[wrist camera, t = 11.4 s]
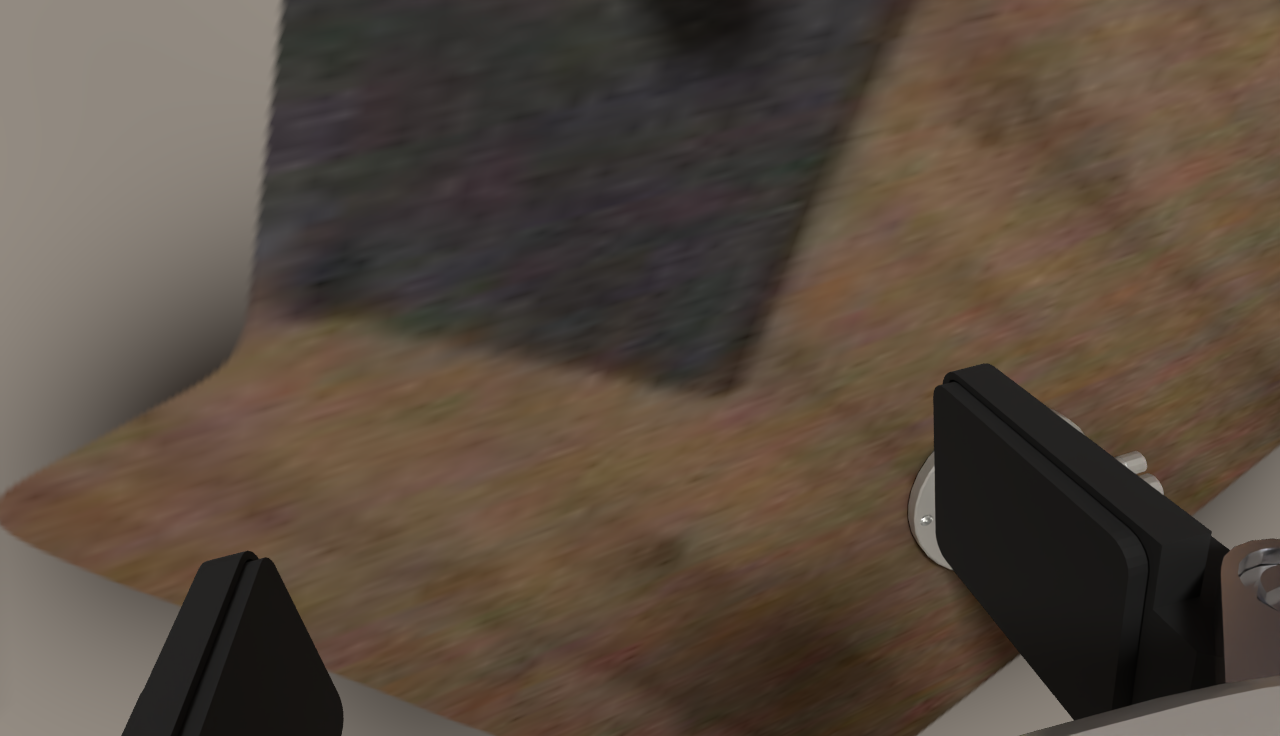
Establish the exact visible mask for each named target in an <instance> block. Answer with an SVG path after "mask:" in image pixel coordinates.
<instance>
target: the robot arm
mask: <svg viewBox="0 0 1280 736" xmlns="http://www.w3.org/2000/svg"><path fill="white" fill-rule="evenodd" d="M933 404H934V452H933V453H932V454H931V455H930V456H929V457H928V459H927V460H926V462H925V464H924V465H923V467H922V468H921V470H920V472H919V473H918V475H917V478H916V480H915V483H914V485H913V487H912V490H911V495H910V499H909V504H908V520H909V524H910V528H911V532H912V534H913V536H914V538H915V539H916V541H917V543H918V545H919V546H920V547H921V548H922V549H923V551H924V552H925V553H926V554H927V556H928V557H930V558H931V559H932V560H933V561H935V562H936V563H937V564H939V565H941V566H943V567H945V568H948V569H950V570H954V572H955V573H956V574H957V575H958V576H959V578H960V579H961V580H962V581H963V583H964V584H965V585H966V586H967V588H968V589H969V590H970V591H971V593H972V594H973V595H974V596H975V598H976V599H977V600H978V601H979V603H980V604H981V605H982V606H983V608H984V609H985V610H986V611H987V613H988V614H989V615H990V616H991V618H992V619H993V620H994V621H995V623H996V624H997V625H998V626H999V628H1000V629H1001V630H1002V631H1003V632H1004V634H1005V635H1006V636H1007V637H1008V639H1009V640H1010V641H1011V642H1012V644H1013V645H1014V646H1015V647H1016V649H1017V650H1018V651H1019V652H1020V654H1021V655H1022V656H1023V657H1024V659H1025V660H1026V661H1027V662H1028V664H1029V665H1030V666H1031V667H1032V669H1033V670H1034V671H1035V672H1036V674H1037V675H1038V676H1039V677H1040V679H1041V680H1042V681H1043V682H1044V683H1045V685H1046V686H1047V687H1048V688H1049V690H1050V691H1051V692H1052V693H1053V695H1055V697H1056V698H1057V700H1058V701H1059V702H1060V703H1061V705H1062V706H1063V707H1064V708H1065V710H1066V711H1067V712H1068V713H1069V714H1070V716H1071V717H1072V718H1073V719H1074V721H1071V722H1067V723H1064V724H1060V725H1056V726H1052V727H1049V728H1045V729H1041V730H1038V731H1034V732H1031V733H1027V734H1024V735H1020V736H1280V539H1274V538H1272V539H1261V540H1252V541H1248V542H1246V543H1243V544H1240V545H1238V546H1235V547H1234V548H1232V549H1231V550H1229V549H1228V548H1226V547H1225V546H1224V545H1222V544H1221V543H1220V542H1218V541H1217V540H1216V539H1215V538H1213V537H1212V536H1211V533H1212V532H1211V531H1210V530H1209V529H1207V528H1206V527H1205V526H1204V525H1202V524H1201V523H1200V522H1198V521H1197V520H1196V519H1195V518H1193V517H1192V516H1191V515H1189V514H1188V513H1187V512H1185V511H1184V510H1183V509H1181V508H1180V507H1179V506H1177V505H1176V504H1175V503H1173V502H1172V501H1171V500H1169V499H1168V498H1167V497H1165V496H1164V493H1163V488H1162V486H1161V484H1160V482H1159V481H1158V480H1157V479H1156V477H1155V476H1153V475H1151V474H1149V473H1148V474H1144V475H1140V476H1138V475H1136V474H1137V473H1140V472H1143V471H1146V468H1147V463H1146V460H1145V458H1144V456H1143V455H1142V454H1141V453H1140V452H1137V451H1134V452H1131V453H1127V454H1124V455H1121V456H1117V457H1115V458H1114V457H1113V456H1111V455H1110V454H1109V453H1107V452H1106V451H1105V450H1103V449H1102V448H1101V447H1099V446H1098V445H1097V444H1096V443H1094V442H1093V441H1092V440H1090V439H1089V438H1088V437H1086V436H1085V435H1084V433H1083V432H1082V430H1081V429H1080V428H1079V427H1078V426H1077V425H1075V424H1074V423H1073V422H1072V421H1071V420H1069V419H1068V418H1067V417H1065V416H1064V415H1062V414H1060V413H1059V412H1057V411H1055V410H1052V409H1049V408H1048V407H1047V406H1045V405H1044V404H1043V403H1041V402H1040V401H1039V400H1037V399H1036V398H1035V397H1034V396H1032V395H1031V394H1030V393H1028V392H1027V391H1026V390H1024V389H1023V388H1022V387H1020V386H1019V385H1018V384H1016V383H1015V382H1014V381H1012V380H1011V379H1010V378H1008V377H1007V376H1006V375H1004V374H1003V373H1002V372H1001V371H999V370H998V369H997V368H995V367H994V366H992V365H990V364H980V365H976V366H973V367H969V368H965V369H961V370H957V371H953V372H949V373H948V374H946V375H945V377H944V380H943V385H939V386H937V387H936V388H935V390H934V396H933ZM342 729H343V707H342V703H341V700H340V697H339V694H338V692H337V690H336V688H335V686H334V684H333V682H332V680H331V678H330V676H329V674H328V672H327V670H326V668H325V666H324V664H323V662H322V660H321V658H320V656H319V654H318V652H317V650H316V648H315V645H314V643H313V641H312V639H311V637H310V635H309V633H308V631H307V629H306V627H305V625H304V623H303V621H302V619H301V617H300V615H299V613H298V611H297V609H296V607H295V605H294V603H293V601H292V599H291V597H290V595H289V593H288V591H287V589H286V587H285V585H284V583H283V581H282V579H281V577H280V575H279V573H278V571H277V569H276V567H275V565H274V563H273V562H272V560H270V559H269V558H266V557H265V558H261V559H258V557H257V556H256V555H255V554H254V553H253V552H251V551H245V552H241V553H237V554H233V555H229V556H225V557H221V558H217V559H213V560H209V561H206V562H204V563H202V565H201V566H200V568H199V570H198V572H197V574H196V576H195V578H194V580H193V583H192V585H191V587H190V589H189V591H188V594H187V596H186V598H185V600H184V602H183V605H182V607H181V609H180V611H179V614H178V616H177V618H176V620H175V622H174V625H173V626H172V629H171V631H170V633H169V635H168V638H167V640H166V642H165V644H164V646H163V649H162V651H161V653H160V655H159V657H158V660H157V662H156V664H155V666H154V668H153V670H152V673H151V675H150V677H149V679H148V681H147V683H146V686H145V688H144V690H143V691H142V693H141V694H140V696H139V698H138V701H137V703H136V705H135V707H134V709H133V712H132V714H131V716H130V718H129V720H128V722H127V725H126V727H125V729H124V731H123V733H122V736H341V734H342Z"/></svg>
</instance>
